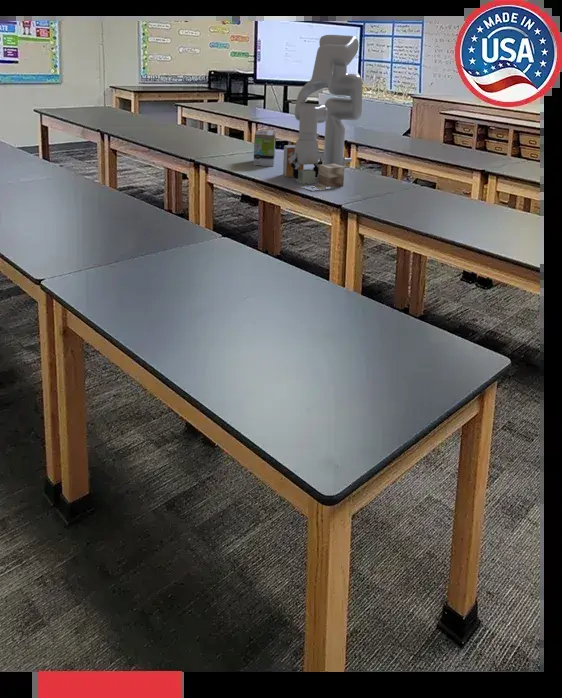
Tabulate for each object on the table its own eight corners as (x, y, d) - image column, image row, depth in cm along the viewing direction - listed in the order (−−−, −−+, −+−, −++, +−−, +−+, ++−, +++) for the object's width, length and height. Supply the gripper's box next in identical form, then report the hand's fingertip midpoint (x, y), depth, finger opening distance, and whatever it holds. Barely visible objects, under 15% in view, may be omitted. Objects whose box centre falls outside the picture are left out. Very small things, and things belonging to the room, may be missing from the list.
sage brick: (308, 180, 299) (308, 169, 297) (314, 183, 294) (315, 171, 292) (296, 181, 297) (296, 169, 294) (302, 184, 292) (303, 172, 290)
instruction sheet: (321, 184, 292) (321, 183, 292) (334, 188, 285) (334, 188, 285) (299, 187, 285) (299, 186, 285) (311, 191, 279) (311, 190, 279)
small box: (285, 177, 303) (287, 147, 298) (282, 174, 309) (283, 145, 303) (303, 177, 305) (304, 147, 299) (299, 174, 311) (301, 144, 305)
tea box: (274, 166, 325) (275, 134, 319) (253, 165, 325) (253, 134, 319) (274, 161, 339) (275, 130, 332) (254, 160, 339) (255, 129, 332)
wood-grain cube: (333, 182, 297) (335, 163, 294) (343, 185, 291) (344, 167, 287) (317, 183, 294) (319, 164, 290) (327, 187, 287) (328, 168, 284)
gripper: (321, 135, 294) (318, 174, 301) (285, 136, 286) (283, 177, 294) (329, 137, 288) (327, 178, 295) (293, 138, 280) (291, 180, 288)
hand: (305, 177), depth 294 cm, fingers open, 9 cm apart
